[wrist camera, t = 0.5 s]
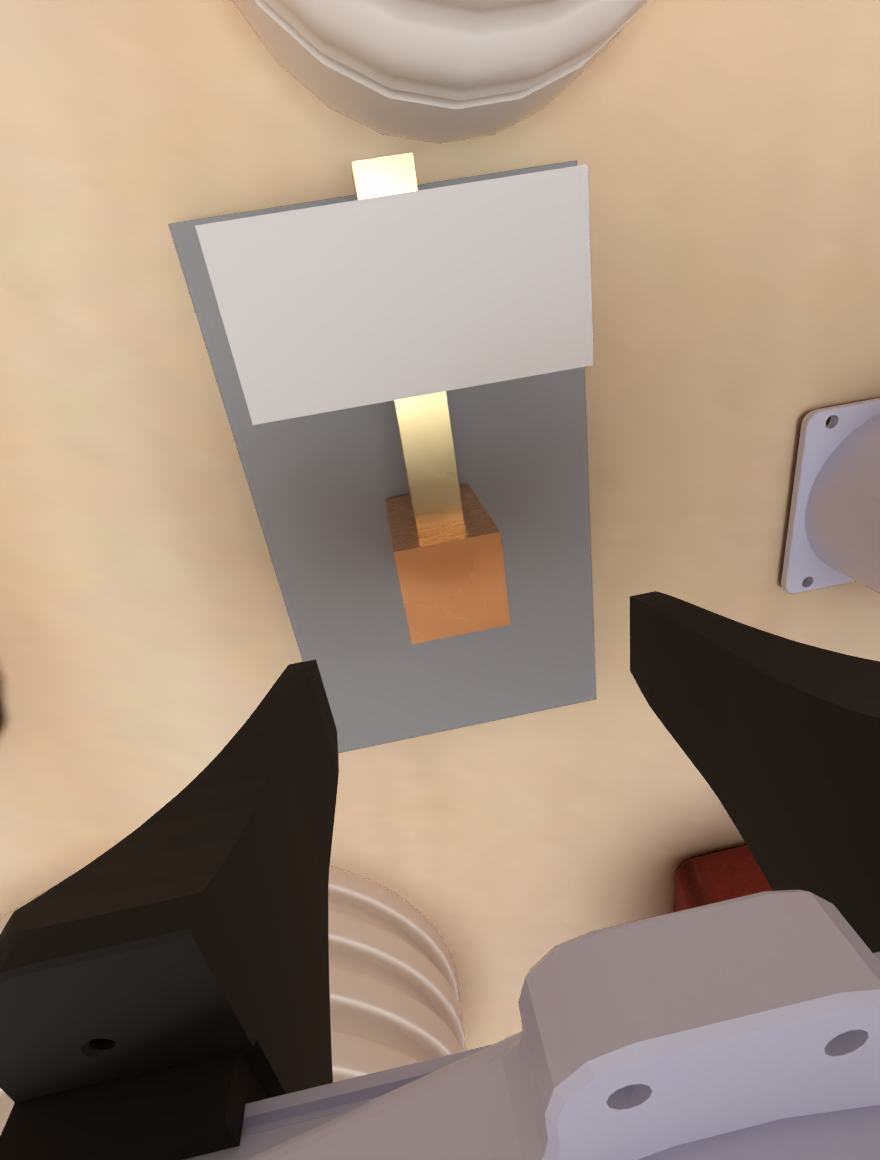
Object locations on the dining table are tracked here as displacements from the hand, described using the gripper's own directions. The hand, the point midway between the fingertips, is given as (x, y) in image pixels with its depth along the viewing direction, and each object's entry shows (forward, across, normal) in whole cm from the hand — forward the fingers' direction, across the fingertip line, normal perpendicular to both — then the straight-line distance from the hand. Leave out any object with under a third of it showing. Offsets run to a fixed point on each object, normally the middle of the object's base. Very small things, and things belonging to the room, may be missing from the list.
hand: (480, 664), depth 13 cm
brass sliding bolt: (+9, 0, -4) cm, 10 cm away
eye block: (+10, 0, 0) cm, 10 cm away
